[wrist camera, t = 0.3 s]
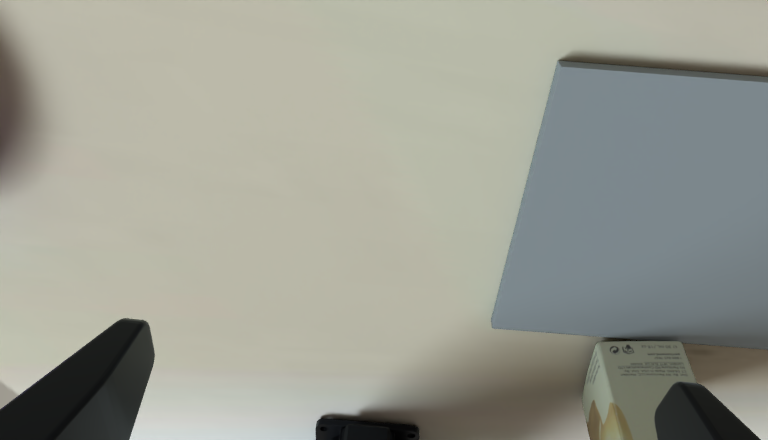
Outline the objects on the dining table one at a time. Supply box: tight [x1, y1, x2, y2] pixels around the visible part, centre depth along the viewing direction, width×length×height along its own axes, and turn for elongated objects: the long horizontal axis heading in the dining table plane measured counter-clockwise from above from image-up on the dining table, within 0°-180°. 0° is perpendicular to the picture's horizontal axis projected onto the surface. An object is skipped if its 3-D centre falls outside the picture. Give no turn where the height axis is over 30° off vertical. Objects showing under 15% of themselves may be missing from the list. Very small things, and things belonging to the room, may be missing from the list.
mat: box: [491, 61, 768, 350], centre depth 25 cm, size 14×16×1 cm
